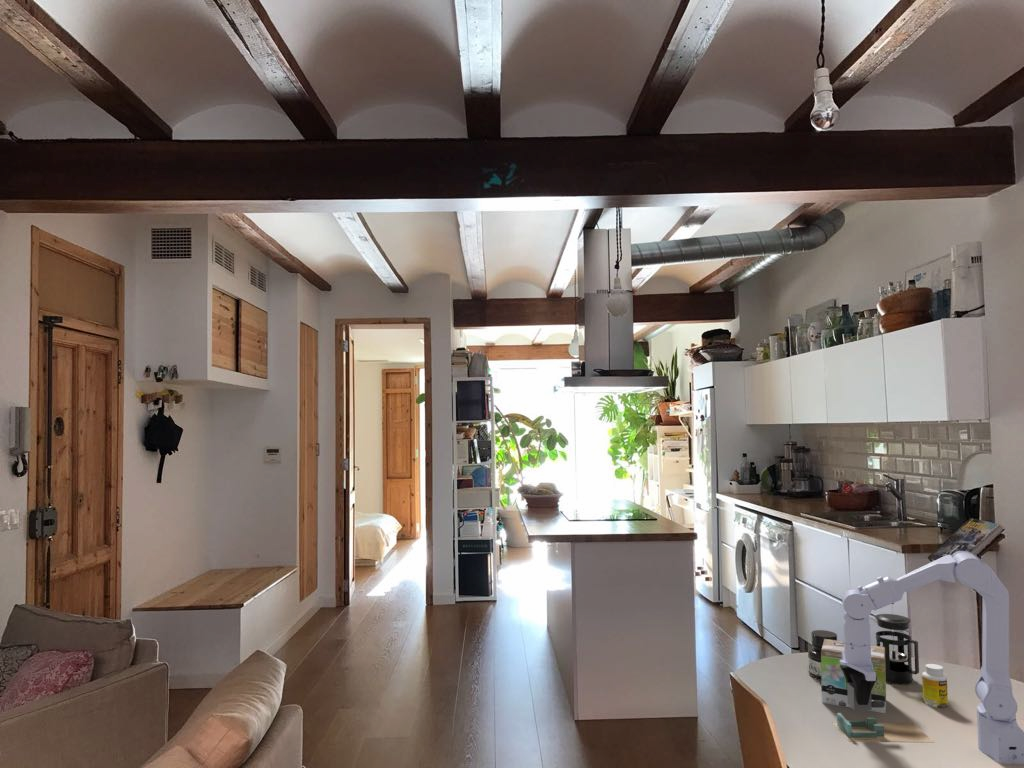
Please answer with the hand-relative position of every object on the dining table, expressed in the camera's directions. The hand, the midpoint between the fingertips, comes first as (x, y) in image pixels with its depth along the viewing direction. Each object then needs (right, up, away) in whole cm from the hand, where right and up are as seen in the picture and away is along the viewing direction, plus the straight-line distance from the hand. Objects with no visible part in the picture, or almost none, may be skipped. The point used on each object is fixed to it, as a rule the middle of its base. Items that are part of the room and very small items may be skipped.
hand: (859, 700), depth 171 cm
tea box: (+7, -9, +17) cm, 21 cm away
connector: (+2, -1, 0) cm, 3 cm away
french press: (+27, -9, +34) cm, 45 cm away
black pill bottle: (+8, -9, +37) cm, 39 cm away
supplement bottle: (+27, -8, +15) cm, 32 cm away
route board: (+5, -8, -1) cm, 9 cm away
